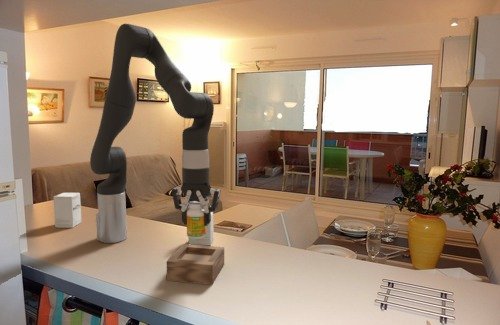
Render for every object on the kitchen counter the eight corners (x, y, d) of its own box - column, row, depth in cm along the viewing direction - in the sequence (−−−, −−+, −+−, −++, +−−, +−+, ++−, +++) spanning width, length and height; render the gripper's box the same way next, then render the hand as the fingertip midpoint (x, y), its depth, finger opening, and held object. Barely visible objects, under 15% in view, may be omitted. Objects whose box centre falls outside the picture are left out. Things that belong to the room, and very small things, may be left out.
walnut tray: (167, 280, 100) (166, 261, 99) (183, 261, 112) (183, 244, 111) (212, 284, 97) (212, 265, 97) (224, 264, 110) (224, 247, 109)
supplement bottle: (190, 240, 100) (189, 206, 98) (184, 234, 104) (183, 201, 103) (208, 237, 102) (208, 203, 101) (202, 231, 107) (201, 199, 106)
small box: (213, 240, 131) (213, 211, 129) (210, 245, 125) (210, 216, 124) (192, 239, 131) (191, 211, 130) (188, 244, 126) (187, 215, 124)
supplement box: (73, 228, 142) (71, 196, 140) (54, 227, 142) (52, 196, 140) (82, 222, 149) (80, 192, 148) (64, 222, 150) (62, 192, 148)
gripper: (165, 166, 98) (167, 227, 100) (217, 168, 96) (217, 230, 98) (176, 162, 105) (177, 219, 108) (224, 164, 103) (224, 222, 105)
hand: (196, 224), depth 103 cm, fingers closed on supplement bottle, 5 cm apart
